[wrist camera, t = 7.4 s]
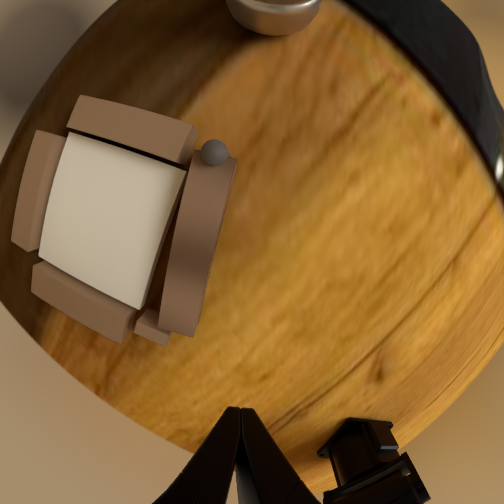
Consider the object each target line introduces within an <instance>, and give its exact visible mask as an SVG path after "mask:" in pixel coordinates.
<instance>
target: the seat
mask: <svg viewBox="0 0 504 504" xmlns="http://www.w3.org/2000/svg"><path fill="white" fill-rule="evenodd" d="M67 127H69V128H73V129H76V130H79V131H82V132H85V133H89V134H92V135H95V136H99V137H102V138H105V139H108V140H111V141H115V142H118V143H121V144H124V145H127V146H130V147H133V148H136V149H139V150H142V151H145V152H148V153H151V154H153V155H156V156H159V157H162V158H165V159H168V160H170V161H173V162H176V163H179V164H181V165H184V166H185V165H186V163H187V160H188V158H189V156H190V153H191V151H192V149H193V146H194V144H195V142H196V140H197V137H198V135H199V132H198V131H197V129H196V128H195V127H194V126H193V125H192V124H189V123H186V122H183V121H180V120H177V119H173V118H170V117H167V116H164V115H160V114H157V113H153V112H150V111H146V110H143V109H139V108H135V107H131V106H128V105H124V104H120V103H116V102H111V101H107V100H103V99H98V98H93V97H89V96H84V95H80V96H79V98H78V100H77V103H76V105H75V107H74V109H73V112H72V114H71V117H70V119H69V121H68V124H67ZM187 176H188V172H187V171H185V170H182V169H179V168H176V167H174V166H171V165H168V164H166V163H163V162H160V161H157V160H154V159H152V158H149V157H146V156H143V155H140V154H137V153H134V152H131V151H128V150H125V149H122V148H119V147H116V146H113V145H110V144H107V143H104V142H101V141H98V140H95V139H92V138H88V137H85V136H82V135H78V134H75V133H71V132H69V135H68V137H67V138H66V137H63V136H60V135H57V134H53V133H49V132H44V131H40V130H36V133H35V136H34V139H33V142H32V145H31V148H30V151H29V154H28V158H27V161H26V165H25V169H24V172H23V176H22V181H21V185H20V189H19V194H18V199H17V204H16V210H15V216H14V222H13V229H12V237H11V241H12V242H14V243H15V244H17V245H18V246H20V247H21V248H23V249H24V250H26V251H27V252H29V251H32V250H35V249H38V248H40V249H39V257H41V258H43V259H44V260H45V261H42V262H40V263H38V264H35V265H33V272H32V285H31V292H32V293H33V294H35V295H36V296H38V297H39V298H41V299H42V300H44V301H45V302H47V303H48V304H50V305H52V306H53V307H55V308H56V309H58V310H60V311H61V312H63V313H64V314H66V315H68V316H69V317H71V318H73V319H74V320H76V321H78V322H80V323H81V324H83V325H85V326H87V327H89V328H90V329H92V330H94V331H96V332H98V333H100V334H101V335H103V336H105V337H107V338H109V339H111V340H113V341H115V342H117V343H119V344H121V343H122V341H123V340H124V339H125V338H126V336H127V335H128V334H129V332H130V331H131V330H132V327H133V323H134V319H135V315H136V311H137V309H138V310H140V309H141V308H142V307H143V305H144V304H145V302H146V299H147V295H148V292H149V288H150V285H151V282H152V278H153V275H154V272H155V269H156V266H157V262H158V259H159V256H160V253H161V250H162V247H163V244H164V241H165V238H166V235H167V233H168V230H169V227H170V224H171V221H172V219H173V216H174V213H175V210H176V208H177V205H178V202H179V200H180V197H181V195H182V192H183V190H184V187H185V184H186V180H187ZM159 315H160V313H159V312H157V311H155V310H152V309H150V308H147V309H146V311H145V312H144V313H143V314H142V315H141V317H140V318H139V319H138V320H137V323H136V327H135V331H134V333H135V334H138V335H140V336H142V337H144V338H146V339H149V340H151V341H153V342H155V343H158V344H160V345H162V346H165V347H166V345H167V343H168V341H169V339H170V337H171V335H172V333H173V332H171V331H168V330H165V329H161V328H158V322H159Z"/></svg>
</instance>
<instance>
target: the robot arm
mask: <svg viewBox="0 0 504 504" xmlns="http://www.w3.org/2000/svg"><path fill="white" fill-rule="evenodd" d="M392 427H393V424H392V422H387V421H376V420H366V419H358V418H349V419H347V420H346V421H345V422H344V424H343V425H342V426H341V427H340V428H339V429H338V431H337V432H336V433H335V434H334V435H333V436H332V437H331V438H330V439H329V441H328V442H327V443H326V444H325V445H324V446H323V447H322V448H321V449H320V450H319V451H318V452H317V455H318V457H322V458H330V461H331V464H332V468H333V471H334V475H335V478H336V482H337V486H338V487H337V488H335V489H333V490H330V491H329V490H328V491H325V492H323V494H324V498H323V504H424V503H425V502H427V501H429V500H430V499H431V498H430V496H429V494H428V492H427V490H426V488H425V486H424V484H423V482H422V481H421V479H420V477H419V475H418V473H417V471H416V469H415V467H414V465H413V463H412V461H411V460H410V458H409V456H408V454H407V452H405V453H403V454H401V456H400V455H399V453H398V451H397V449H398V448H399V447H398V444H397V442H396V440H395V438H394V436H393V435H392V433H391V431H390V429H391V428H392ZM234 466H235V470H236V481H237V492H238V501H239V504H321V503H320V502H319V501H318V500H317V499H316V498H315V496H314V495H313V494H312V493H311V492H310V490H309V489H308V488H307V487H306V485H305V484H304V482H303V481H302V480H300V477H299V476H298V474H297V473H296V472H295V470H294V469H293V467H292V466H291V465H290V463H289V462H288V460H287V459H286V457H285V456H284V455H283V453H282V452H281V450H280V449H279V447H278V446H277V444H276V443H275V441H274V440H273V438H272V437H271V435H270V434H269V432H268V431H267V429H266V427H265V426H264V424H263V423H262V421H261V420H260V418H259V416H258V415H257V413H256V412H255V410H254V409H253V408H241V409H240V408H239V407H233V406H228V407H227V408H226V410H225V411H224V413H223V414H222V416H221V417H220V419H219V420H218V422H217V423H216V424H215V426H214V427H213V429H212V430H211V432H210V433H209V435H208V436H207V437H206V439H205V440H204V442H203V443H202V444H201V446H200V447H199V449H198V450H197V451H196V453H195V454H194V455H193V457H192V458H191V460H190V461H189V462H188V464H187V465H186V466H185V468H184V469H183V470H182V472H181V473H180V474H179V475H178V477H177V478H176V479H175V480H174V482H173V483H172V484H171V485H170V486H169V487H168V489H167V490H166V491H165V492H164V493H163V494H162V495H161V496H160V497H159V498H158V499H156V500H155V501H154V502H153V503H152V504H226V501H227V497H228V492H229V488H230V484H231V480H232V475H233V471H234ZM408 473H411V474H409V475H406V474H408Z"/></svg>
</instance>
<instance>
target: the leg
mask: <svg viewBox="0 0 504 504" xmlns="http://www.w3.org/2000/svg"><path fill="white" fill-rule="evenodd" d="M237 164H238V163H237V160H236V159H235V158H230V155H229V153H228V150H227V148H226V146H225V145H224V143H223V142H221V141H219V140H209V141H207V142H206V143H205V144H204V145H203V146H202V148H201V151H200V150H194V154H193V157H192V161H191V165H190V168H189V172H188V176H187V180H186V184H185V188H184V192H183V196H182V200H181V204H180V209H179V213H178V217H177V222H176V226H175V231H174V236H173V241H172V245H171V250H170V256H169V261H168V266H167V272H166V277H165V283H164V289H163V295H162V301H161V308H160V315H159V322H158V328H161V329H165V330H168V331H171V332H175V333H178V334H182V335H185V336H189V337H193V336H194V333H195V331H196V328H197V325H198V322H199V318H200V314H201V309H202V304H203V300H204V295H205V291H206V287H207V282H208V278H209V274H210V269H211V265H212V261H213V257H214V253H215V249H216V244H217V240H218V236H219V232H220V228H221V224H222V220H223V216H224V213H225V209H226V205H227V201H228V197H229V193H230V190H231V186H232V182H233V178H234V175H235V171H236V167H237Z"/></svg>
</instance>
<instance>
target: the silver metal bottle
mask: <svg viewBox="0 0 504 504" xmlns="http://www.w3.org/2000/svg"><path fill="white" fill-rule="evenodd" d="M226 3H227V5H228V8H229V10H230V12H231V14H232V16H233V18H234V19H235V20H236V21H237V22H238V23H239V24H240V25H242V26H243V27H245V28H247V29H249V30H251V31H253V32H256V33H260V34H263V35H269V36H281V35H289V34H293V33H296V32H298V31H301V30H302V29H304V28H305V27H307V26H308V24H309V23H310V22H311V21H312V20H313V19H314V17H315V16H316V15H317V13H318V11H319V9H320V3H321V0H226Z"/></svg>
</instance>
